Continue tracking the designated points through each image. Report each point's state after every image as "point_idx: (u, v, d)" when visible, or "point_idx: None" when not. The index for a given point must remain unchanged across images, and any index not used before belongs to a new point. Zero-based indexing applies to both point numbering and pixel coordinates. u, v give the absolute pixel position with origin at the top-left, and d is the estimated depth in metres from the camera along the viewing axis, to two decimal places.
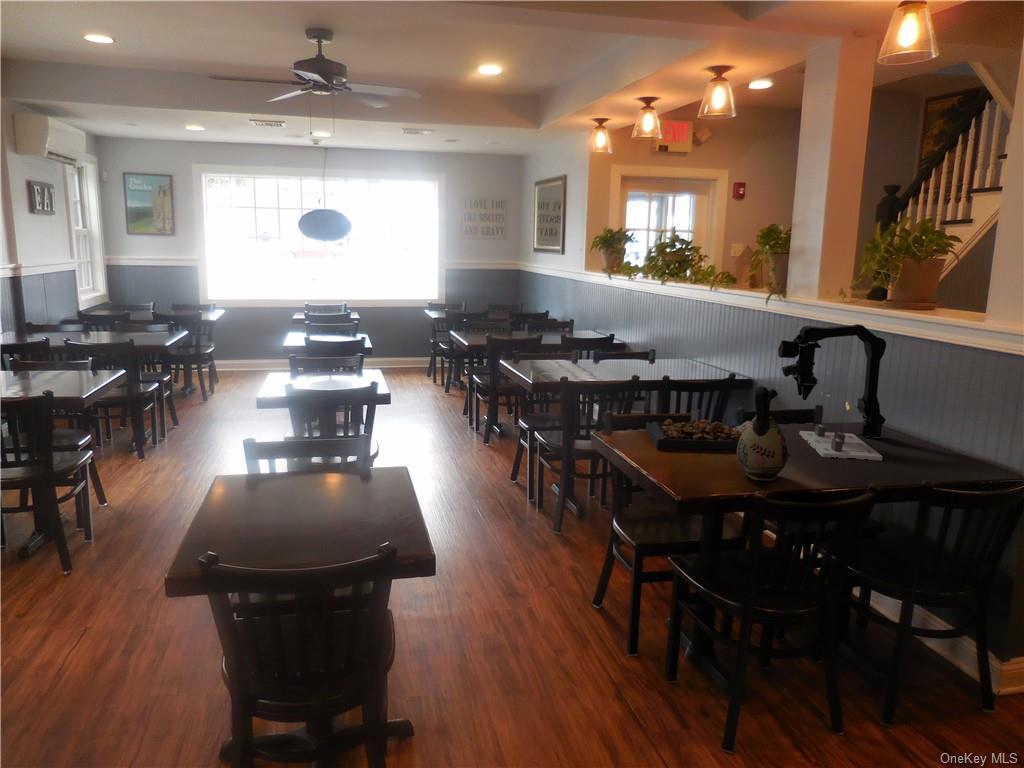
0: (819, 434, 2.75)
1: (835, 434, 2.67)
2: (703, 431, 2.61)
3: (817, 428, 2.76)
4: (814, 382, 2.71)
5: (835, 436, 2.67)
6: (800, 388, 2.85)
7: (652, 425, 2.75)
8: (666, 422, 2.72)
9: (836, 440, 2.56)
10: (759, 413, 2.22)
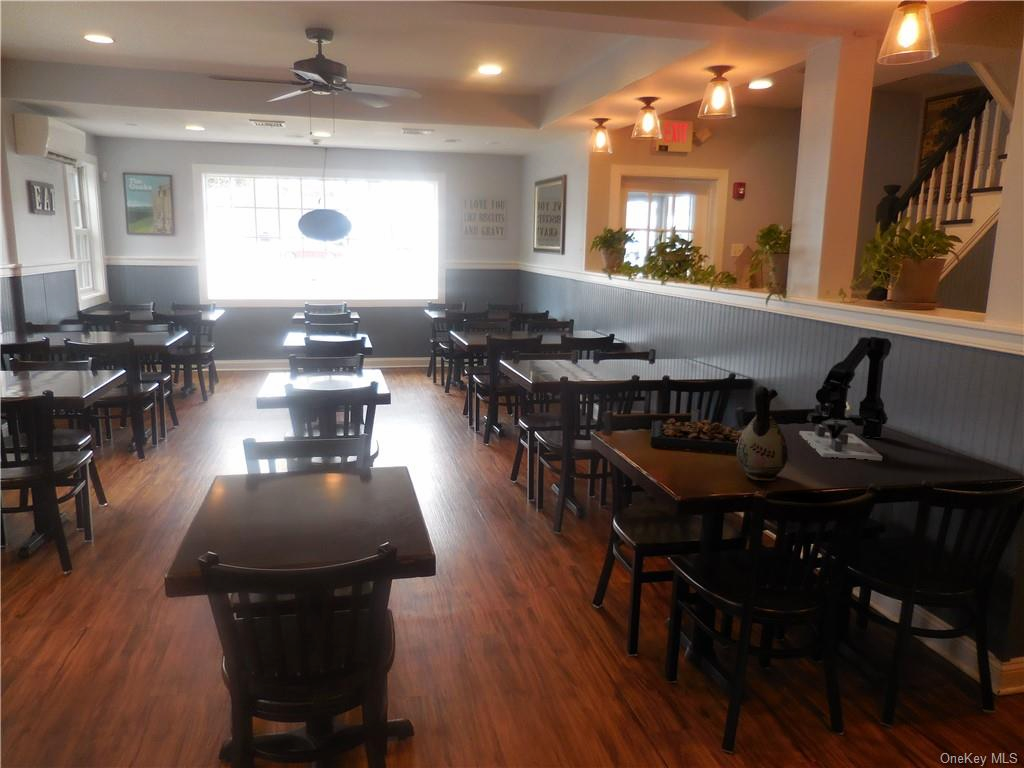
0: (819, 434, 2.75)
1: None
2: (700, 431, 2.61)
3: (817, 428, 2.76)
4: (810, 420, 2.64)
5: (838, 436, 2.67)
6: None
7: (655, 423, 2.77)
8: (668, 421, 2.74)
9: (836, 440, 2.56)
10: (759, 413, 2.22)
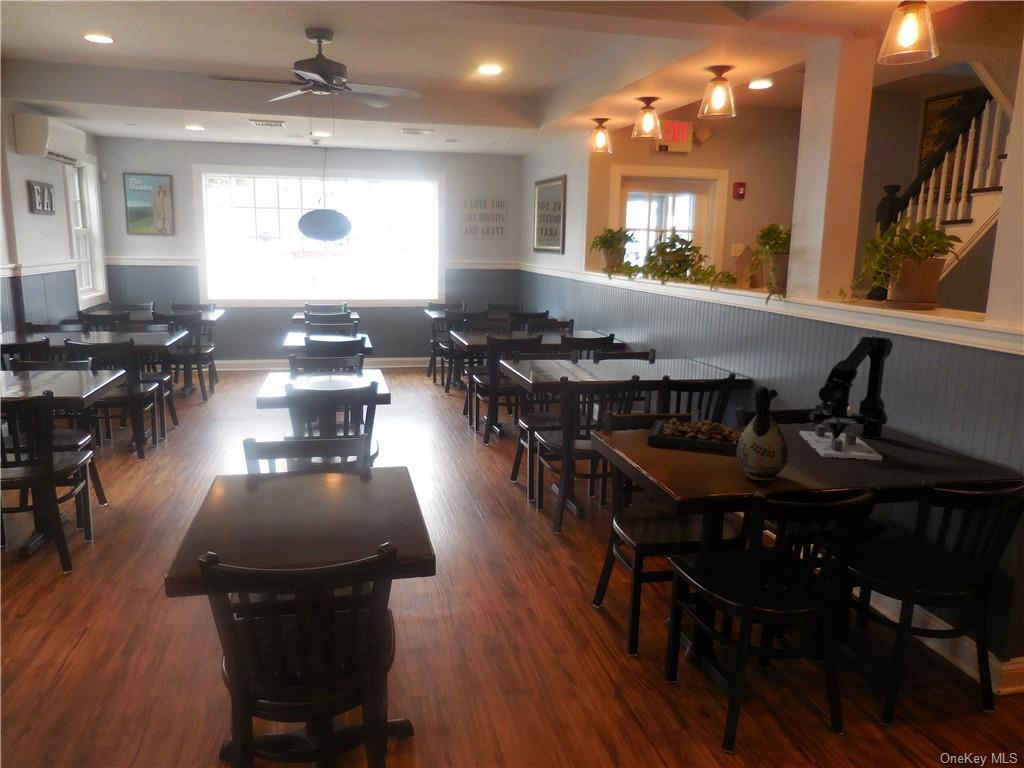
0: (819, 434, 2.75)
1: (846, 435, 2.66)
2: (699, 431, 2.61)
3: (817, 428, 2.76)
4: (813, 418, 2.64)
5: (846, 437, 2.66)
6: None
7: (658, 422, 2.79)
8: (670, 420, 2.75)
9: (836, 440, 2.56)
10: (759, 413, 2.22)
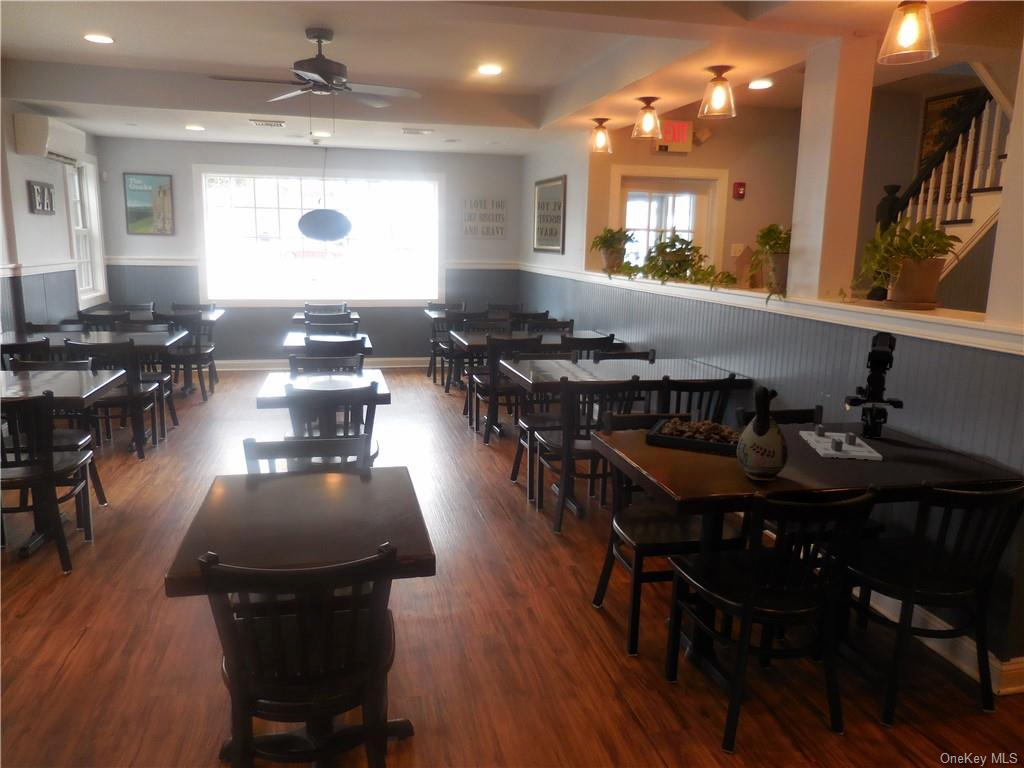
0: (819, 434, 2.75)
1: (846, 435, 2.66)
2: (697, 431, 2.61)
3: (817, 428, 2.76)
4: (849, 403, 2.61)
5: (846, 437, 2.66)
6: None
7: (661, 422, 2.80)
8: (672, 420, 2.75)
9: (836, 440, 2.56)
10: (759, 413, 2.22)
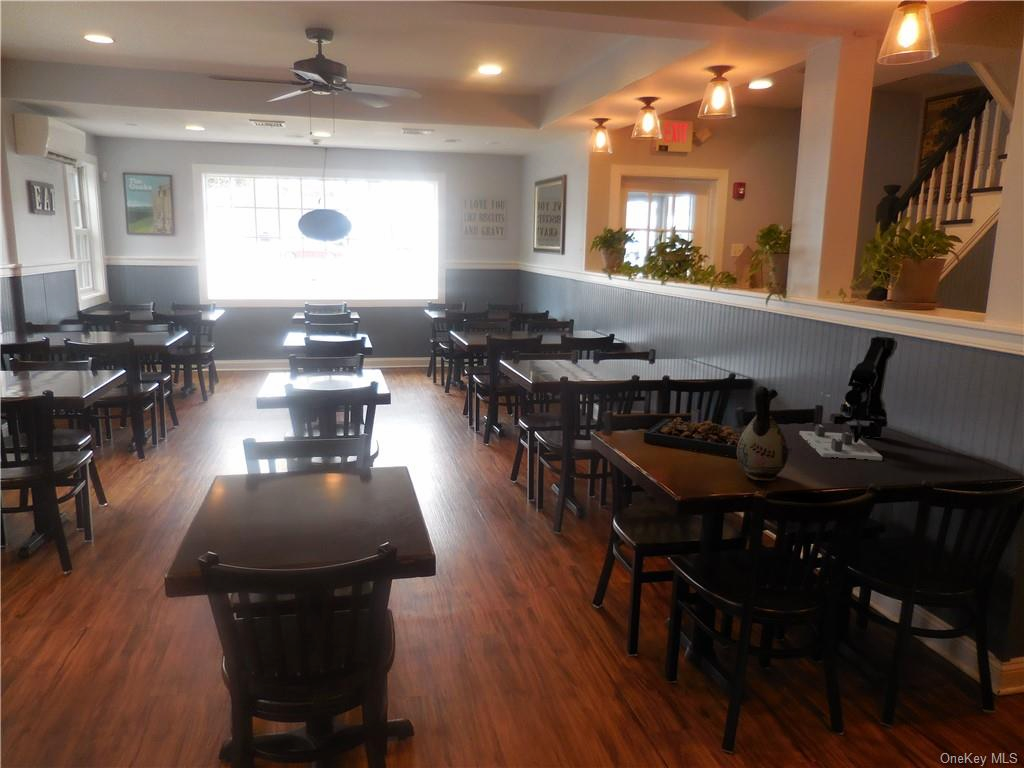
0: (819, 434, 2.75)
1: (842, 434, 2.67)
2: (696, 431, 2.61)
3: (817, 428, 2.76)
4: (833, 421, 2.63)
5: (842, 436, 2.66)
6: None
7: (664, 421, 2.81)
8: (675, 419, 2.76)
9: (836, 440, 2.56)
10: (759, 413, 2.22)
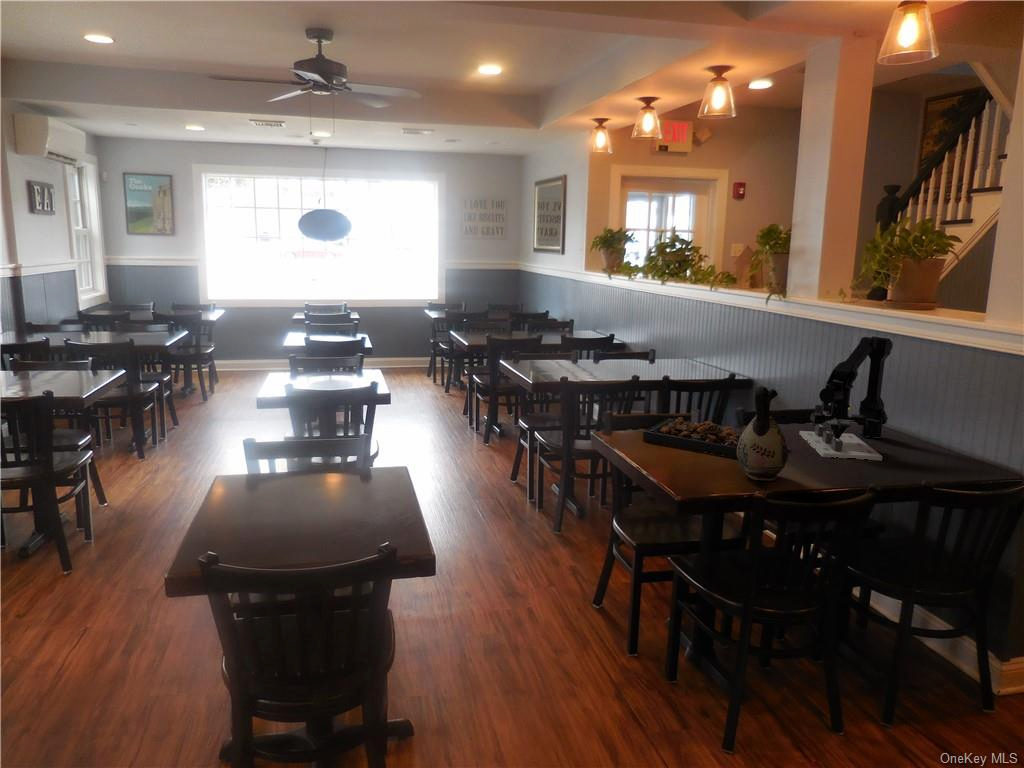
0: (819, 434, 2.75)
1: (824, 433, 2.67)
2: (695, 430, 2.61)
3: (817, 428, 2.76)
4: (814, 420, 2.64)
5: (824, 435, 2.67)
6: None
7: (666, 421, 2.81)
8: (676, 419, 2.77)
9: (836, 440, 2.56)
10: (759, 413, 2.22)
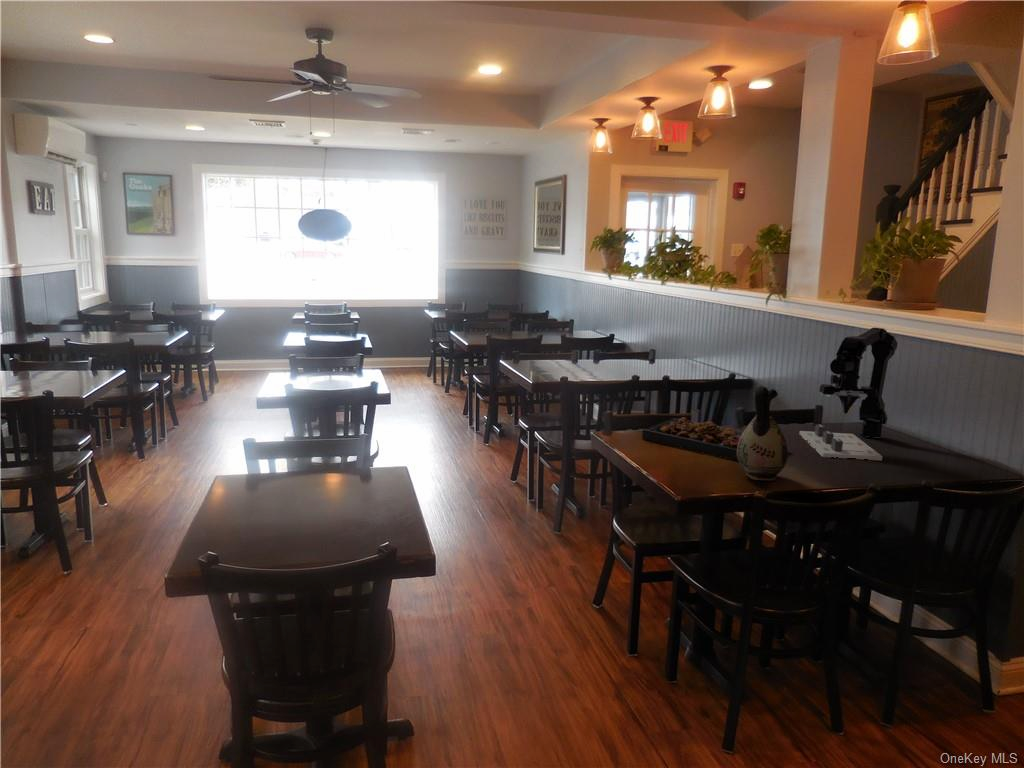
0: (819, 434, 2.75)
1: (824, 433, 2.67)
2: (693, 430, 2.62)
3: (817, 428, 2.76)
4: (823, 391, 2.62)
5: (824, 435, 2.67)
6: None
7: (670, 421, 2.82)
8: (679, 419, 2.77)
9: (836, 440, 2.56)
10: (759, 413, 2.22)
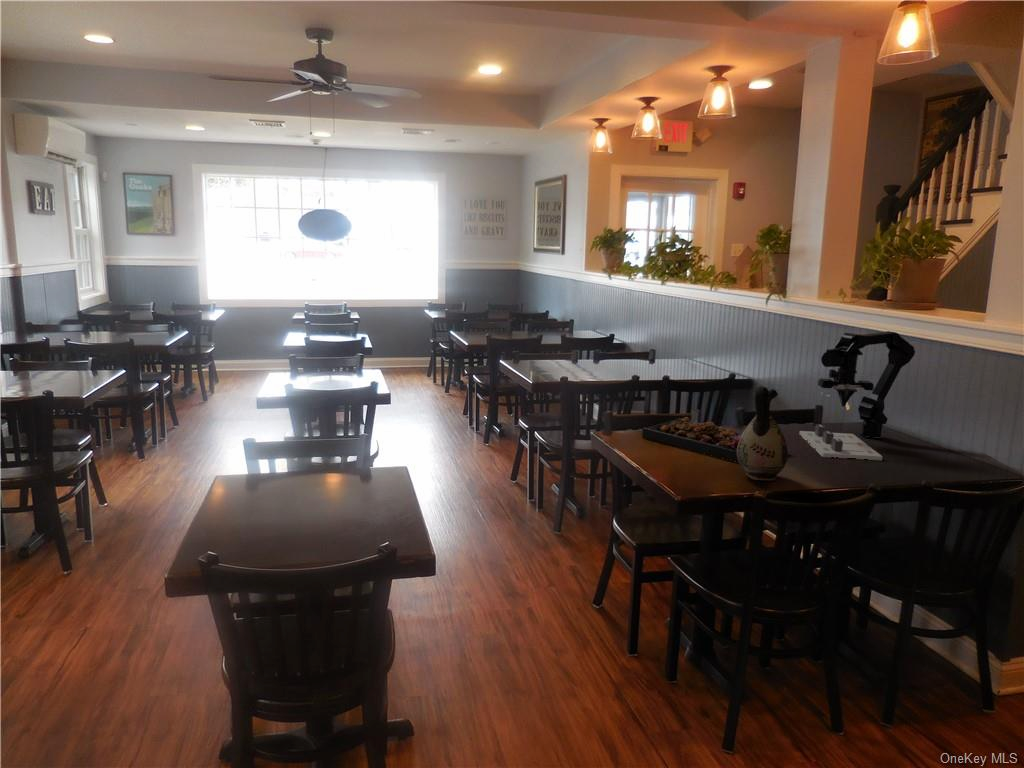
0: (819, 434, 2.75)
1: (824, 433, 2.67)
2: (692, 430, 2.62)
3: (817, 428, 2.76)
4: (821, 385, 2.73)
5: (824, 435, 2.67)
6: None
7: (674, 420, 2.83)
8: (682, 419, 2.78)
9: (836, 440, 2.56)
10: (759, 413, 2.22)
